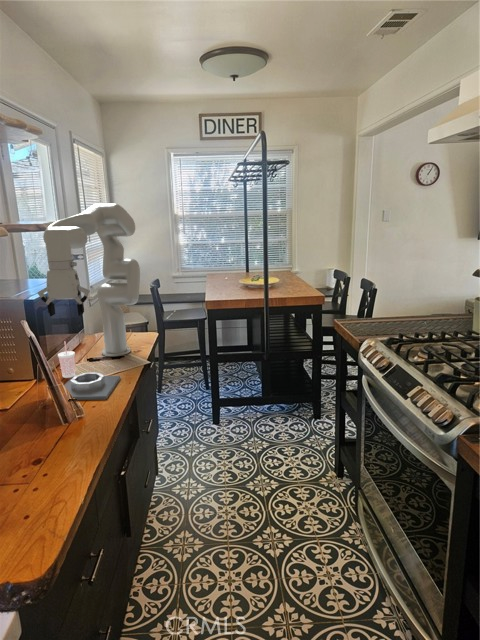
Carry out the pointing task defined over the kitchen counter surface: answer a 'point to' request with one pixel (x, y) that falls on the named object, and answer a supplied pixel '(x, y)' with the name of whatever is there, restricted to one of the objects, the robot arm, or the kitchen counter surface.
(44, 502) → the kitchen counter surface
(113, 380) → the plate
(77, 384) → the steel collar
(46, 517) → the kitchen counter surface
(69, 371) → the beverage cup
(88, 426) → the kitchen counter surface
